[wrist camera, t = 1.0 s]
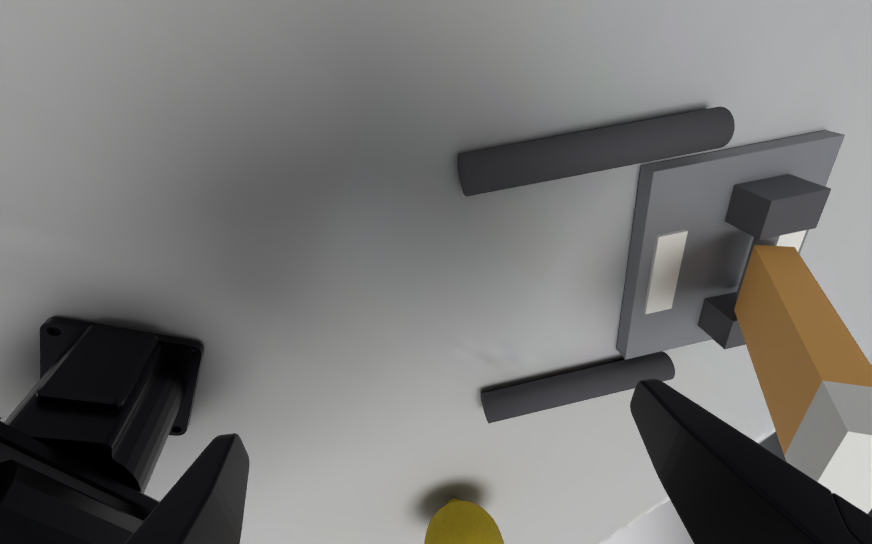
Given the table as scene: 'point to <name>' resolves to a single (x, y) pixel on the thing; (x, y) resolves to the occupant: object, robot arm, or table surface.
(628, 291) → the base
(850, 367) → the lever
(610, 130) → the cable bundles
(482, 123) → the table surface
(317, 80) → the table surface
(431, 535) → the lemon
